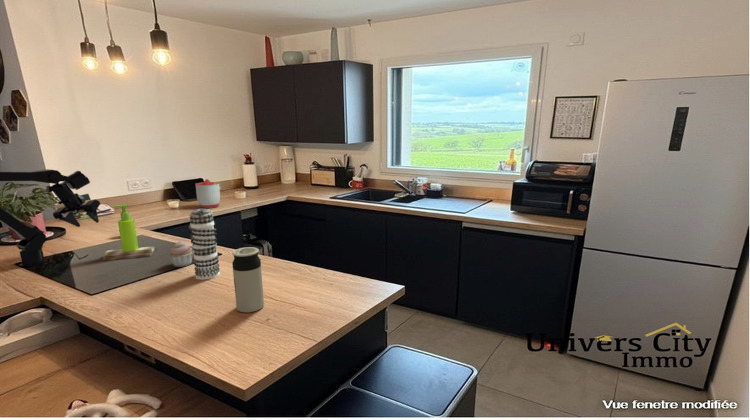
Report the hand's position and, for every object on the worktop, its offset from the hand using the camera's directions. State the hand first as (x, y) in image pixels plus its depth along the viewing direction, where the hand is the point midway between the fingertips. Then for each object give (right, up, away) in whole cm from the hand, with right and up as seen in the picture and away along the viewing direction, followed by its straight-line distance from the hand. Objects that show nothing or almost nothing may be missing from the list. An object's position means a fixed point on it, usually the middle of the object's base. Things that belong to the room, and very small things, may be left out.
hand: (88, 224), depth 171 cm
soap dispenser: (+23, -11, -7) cm, 26 cm away
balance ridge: (+23, -13, -6) cm, 27 cm away
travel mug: (+92, -23, -56) cm, 110 cm away
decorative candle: (+68, -18, -30) cm, 76 cm away
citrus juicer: (+13, +9, +97) cm, 99 cm away
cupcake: (+52, -16, -19) cm, 58 cm away
